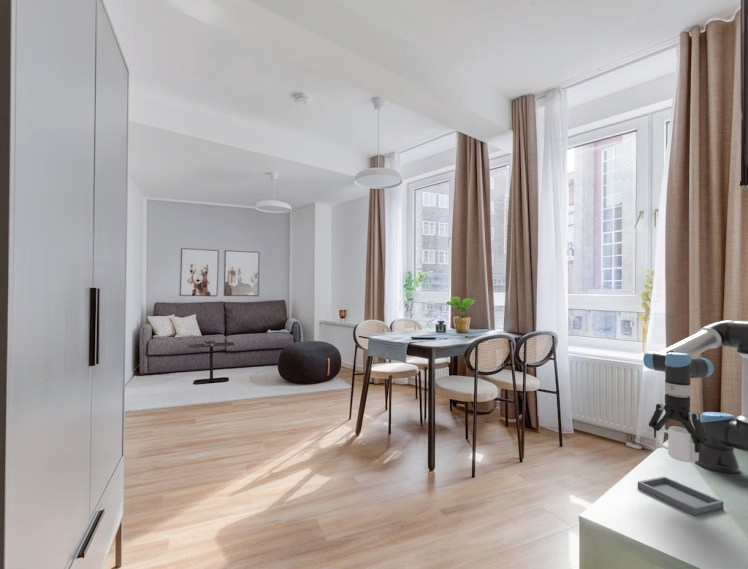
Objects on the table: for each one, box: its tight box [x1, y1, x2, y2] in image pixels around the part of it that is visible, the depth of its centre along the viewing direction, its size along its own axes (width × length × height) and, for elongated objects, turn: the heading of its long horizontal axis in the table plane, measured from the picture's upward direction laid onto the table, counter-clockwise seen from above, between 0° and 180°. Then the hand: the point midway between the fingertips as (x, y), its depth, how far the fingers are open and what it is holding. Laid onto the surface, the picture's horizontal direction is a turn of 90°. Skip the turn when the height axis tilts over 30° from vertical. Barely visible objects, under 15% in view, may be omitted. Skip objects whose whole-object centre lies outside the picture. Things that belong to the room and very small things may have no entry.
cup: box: [657, 425, 694, 463], centre depth 147 cm, size 8×12×10 cm
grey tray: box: [637, 476, 725, 517], centre depth 145 cm, size 15×20×2 cm
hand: (676, 454), depth 147 cm, fingers closed on cup, 12 cm apart
